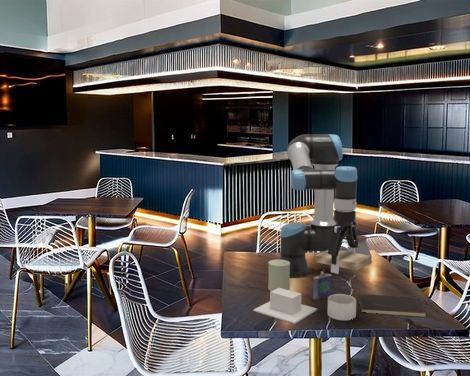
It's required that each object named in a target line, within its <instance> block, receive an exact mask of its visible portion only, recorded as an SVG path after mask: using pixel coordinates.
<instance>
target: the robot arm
mask: <svg viewBox="0 0 470 376" xmlns="http://www.w3.org/2000/svg"><path fill="white" fill-rule="evenodd" d="M286 148H287V149H286V153H287V154H286V155H287V157H288V159H289V160H290V161H291V165H292V169H293V170H291V172H290V187H291V189H293V190H299V191H304V190H306V191H310V190H311V191H312V190H313V191H314V208H313V209H314V211H313V214H314V215H313V216H314V217H313V219H312V220H311V222H310V225H309V226H307V223H305V222H290V223H286V224H284V225H282V226H281V229H280V236H279V237H280V250H279V251H280V256H279V259H278V260H286V261H289V262H290V277H289V278H303V277H306V276H308V275H309V274H310V268H309V265H308V262H307V261H308V260H307V259H306V253H307V252H324V251H327V250H328V254H330V255H331V265H330V273H331V274H332V273H333V274H335V275H338V274H339V273H340V272H339V271H340V267H339V255H338V253H339V250H341V247H342V244H343V241H344V239H345V238H346V239H347V240H346V242H347V245H348V246H347V247H346V248H347V250H346V251H347V252H353V253H355V248H358V238H357V235H358V233H357V223H356V216H357V215H356V214H357V212H356V211H355V210H356V208H357V204H358V202H357V191H358V190H357V187H358V185H357V184H358V170H357V169H358V168H356V167H355V166H348V165H347V166H344V165H343V166H342V165H340V166H338V165H339V162H340V161H341V160H342V159H343V153H344V152H343V145H342V140H341V138H340V136H339V135H337V134H330V133H324V134H323V133H321V134H320V133H319V134H317V133H315V134H314V133H313V134H311V133H310V134H309V133H306V134H300V135H298V136H296V137H295V138H293V139H292V140H291V141H290V142H289V143H288V145H287V147H286ZM313 166H314V167H313ZM334 209H335V210H334ZM336 222H337V223H336Z"/></svg>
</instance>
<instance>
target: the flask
mask: <svg viewBox="0 0 470 376" xmlns="http://www.w3.org/2000/svg"><path fill="white" fill-rule="evenodd" d="M312 284H313V287H312V288H313V289H312V299H313V300H314V301H316V300H322V299H325V298H328V297H329V296H330V295H332V291H333V289H332V288H333V287H332V286H333V275H332V273H325V272H324V271H323V270H322V271H320V274H319V275H317V276H314V277H313V283H312Z"/></svg>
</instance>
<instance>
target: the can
mask: <svg viewBox="0 0 470 376" xmlns="http://www.w3.org/2000/svg"><path fill="white" fill-rule="evenodd" d="M290 278H291V277H290V262H289V261H286V260H279V259H272V260H269V261H268V283H267V284H268V285H267V289H268V291H270V292H271V291H273V290H275V289H277V288H282V289H286V290H290ZM290 291H291V290H290Z"/></svg>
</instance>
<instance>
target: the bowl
mask: <svg viewBox="0 0 470 376" xmlns="http://www.w3.org/2000/svg"><path fill="white" fill-rule="evenodd" d="M356 315H357V299H356V297H354V296H352V295H349V294H345V293H344V294H343V293H334V294H331V295H330V296H329V297H327V317H329V318H331V319H334V320H337V321H350V320H351V319H352V320H354V319H356ZM353 318H354V319H353ZM352 320H351V321H352Z"/></svg>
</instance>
